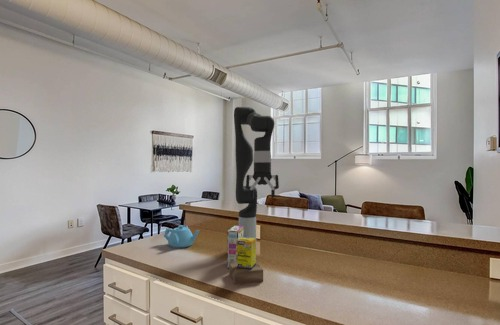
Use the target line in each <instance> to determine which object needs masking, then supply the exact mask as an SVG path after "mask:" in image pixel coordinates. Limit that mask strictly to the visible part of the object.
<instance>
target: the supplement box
mask: <svg viewBox="0 0 500 325" xmlns="http://www.w3.org/2000/svg"><path fill="white" fill-rule="evenodd" d="M256 250H257V237H256V238H247V237H241V238H240V239H239V240H238V241H237V268H244V269H251V270H252V268H253V267H254V266H255V265H256V262H257V257H256V256H257V252H256Z"/></svg>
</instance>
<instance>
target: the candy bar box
mask: <svg viewBox="0 0 500 325" xmlns="http://www.w3.org/2000/svg"><path fill="white" fill-rule="evenodd" d="M243 229H244V226H239V225H233V226H232V227H230V228H229V229H228V230H227V247H226V248H227V252H226V254H227V257H226V258H227V259H226V262H227V263H226V264H227V265H226V268H227V269H229V263H235V262H237V241H238V240H239V239H240V238H241V237H243Z"/></svg>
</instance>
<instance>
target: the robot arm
mask: <svg viewBox="0 0 500 325" xmlns="http://www.w3.org/2000/svg"><path fill="white" fill-rule="evenodd" d="M233 111H234V112H233V121H234V122H233V123H234V133H235V137H234V138H235V171H236V174H235V175H236V176H235V177H236V178H235V180H236V181H235V200H236V203H237V204H239V205H244V204H245V205H246V204H247V206H246V207H244V208H242V209H240V210H239V211H238V226H244V229H243V237H247V238H256V239H257V210H258V190H257V187H256V185H258V186H262V185H263V186H266V185H268V186H269V187H270V188H271V190H270V191H271V193H270V195H271V199H274V198H275V197H276V196H275V195H276V194H275V193H276V190H278V189H279V188H280V182H279V175H278V174H274V175H272V154H271V140H272V136H273V132H274V129H275V124H276V123H275V119H274V117H272V116H271V115H262V114H260V113H258V112H257V111H256V110H255V109H254V108H253V107H247V106H236V107H235V108H234V110H233ZM242 125H243V126H244V125H247V126H249V127H250V130H251V131H252V132H256V133H264V135H262V136H259V137H256V138H254V143H253V145H254V147H252V145H251V143H250V142H249V140H248V138H247V137H246V135H245V133H244V131H243V127H242ZM252 164H253V175H252V174H247V173H248V171H249V169H251V168H250V167H252ZM245 177H246V182H245V185H244V181H245ZM252 179H253V180H254V182H253V184H252V185H250V180H252ZM272 179H273V180H274V181H275V186H274V185H273V184H272V183H271V180H272Z"/></svg>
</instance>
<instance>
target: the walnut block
mask: <svg viewBox="0 0 500 325" xmlns="http://www.w3.org/2000/svg"><path fill="white" fill-rule="evenodd" d="M228 272H229V273H228V274H229V277H230V278H231V279H232V281H234V282H233V283H234V285H235V286H238V284H241V285H246V284H247V285H249V284H254V283H264V269H263V267H261V266H260V264H259V263H258V262H257V261H256V265H255V266H254V267H253V268H252V270H251V269H244V268H237V262H235V263H229V268H228Z"/></svg>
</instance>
